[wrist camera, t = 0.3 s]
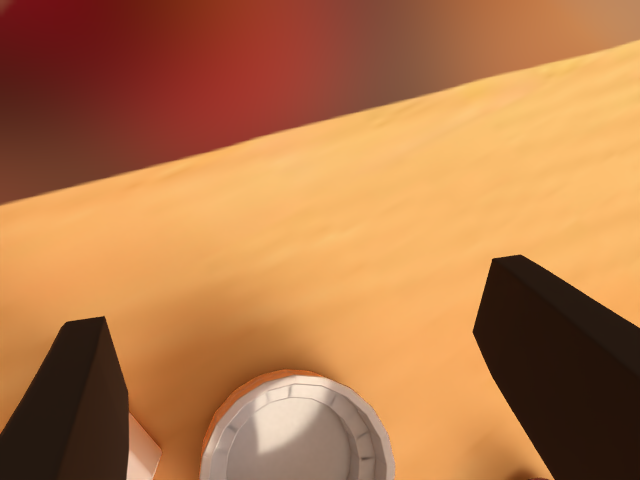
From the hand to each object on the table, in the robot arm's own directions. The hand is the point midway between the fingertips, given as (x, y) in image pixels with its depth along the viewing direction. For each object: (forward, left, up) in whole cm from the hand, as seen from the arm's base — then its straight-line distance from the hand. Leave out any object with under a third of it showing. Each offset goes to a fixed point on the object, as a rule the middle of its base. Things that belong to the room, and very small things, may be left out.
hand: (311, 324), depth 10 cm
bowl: (-10, -2, -30) cm, 32 cm away
